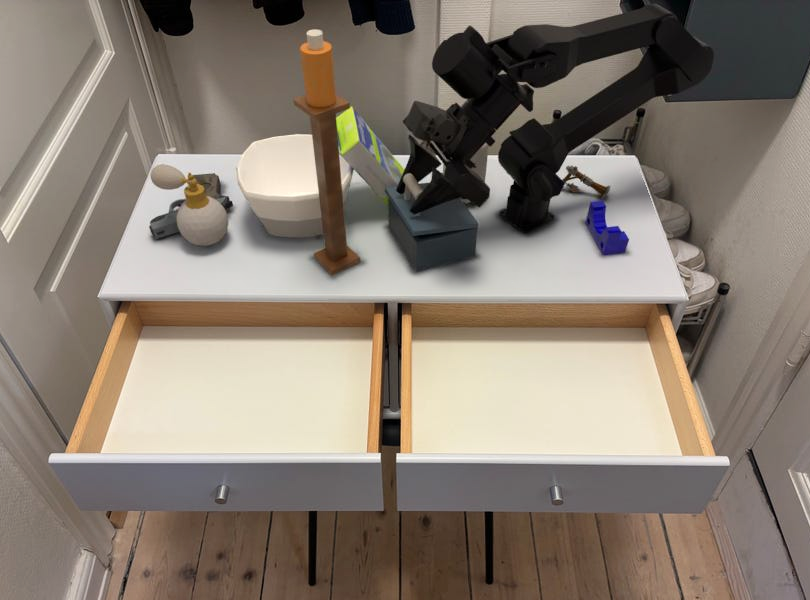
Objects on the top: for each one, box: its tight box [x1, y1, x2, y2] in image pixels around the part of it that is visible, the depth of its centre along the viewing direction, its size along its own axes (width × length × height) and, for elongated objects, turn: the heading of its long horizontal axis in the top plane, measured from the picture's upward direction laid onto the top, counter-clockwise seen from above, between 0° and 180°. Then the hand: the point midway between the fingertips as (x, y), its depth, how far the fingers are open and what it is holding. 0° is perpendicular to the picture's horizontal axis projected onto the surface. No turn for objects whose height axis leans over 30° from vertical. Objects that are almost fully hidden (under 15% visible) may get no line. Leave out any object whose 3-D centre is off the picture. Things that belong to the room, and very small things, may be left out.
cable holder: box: [584, 200, 630, 256], centre depth 101 cm, size 8×4×4 cm, turn 8°
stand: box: [293, 93, 361, 276], centre depth 90 cm, size 5×5×25 cm
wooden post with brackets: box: [561, 165, 611, 201], centre depth 109 cm, size 2×8×4 cm, turn 72°
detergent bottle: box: [299, 28, 337, 108], centre depth 78 cm, size 4×4×8 cm
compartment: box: [387, 199, 479, 273], centre depth 100 cm, size 10×12×5 cm
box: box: [336, 105, 405, 206], centre depth 103 cm, size 10×4×17 cm
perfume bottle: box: [150, 163, 229, 247], centre depth 98 cm, size 8×10×12 cm
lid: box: [385, 173, 480, 236], centre depth 96 cm, size 10×12×5 cm
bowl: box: [236, 133, 355, 238], centre depth 103 cm, size 18×18×9 cm
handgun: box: [148, 172, 234, 240], centre depth 107 cm, size 2×14×12 cm
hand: (404, 202), depth 95 cm, fingers closed on lid, 5 cm apart
